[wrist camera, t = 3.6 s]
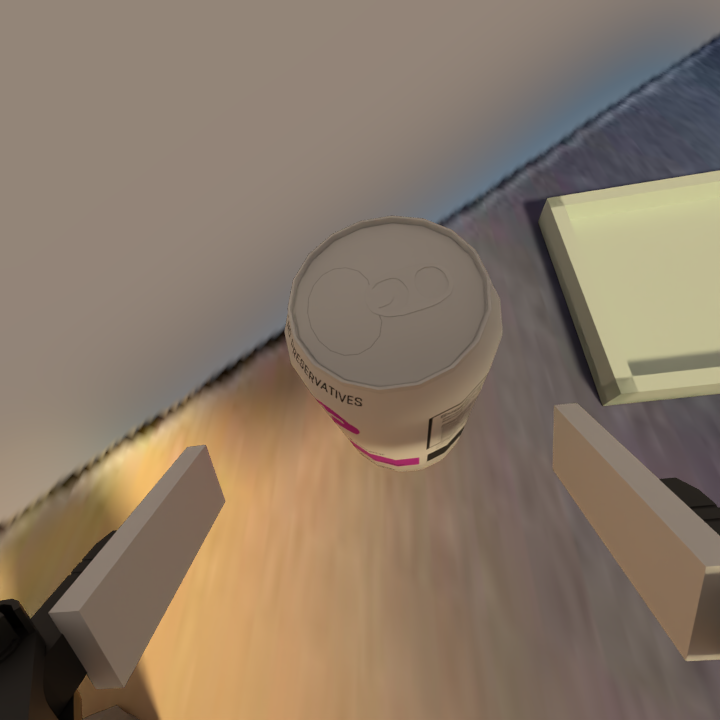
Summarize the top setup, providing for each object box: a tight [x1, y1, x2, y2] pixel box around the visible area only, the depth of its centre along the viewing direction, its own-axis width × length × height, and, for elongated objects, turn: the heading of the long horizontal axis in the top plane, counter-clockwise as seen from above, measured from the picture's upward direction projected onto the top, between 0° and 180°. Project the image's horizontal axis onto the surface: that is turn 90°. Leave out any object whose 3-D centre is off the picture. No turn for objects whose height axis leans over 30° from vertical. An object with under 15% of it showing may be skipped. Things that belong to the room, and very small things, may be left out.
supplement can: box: [284, 216, 503, 472], centre depth 20 cm, size 8×8×15 cm
